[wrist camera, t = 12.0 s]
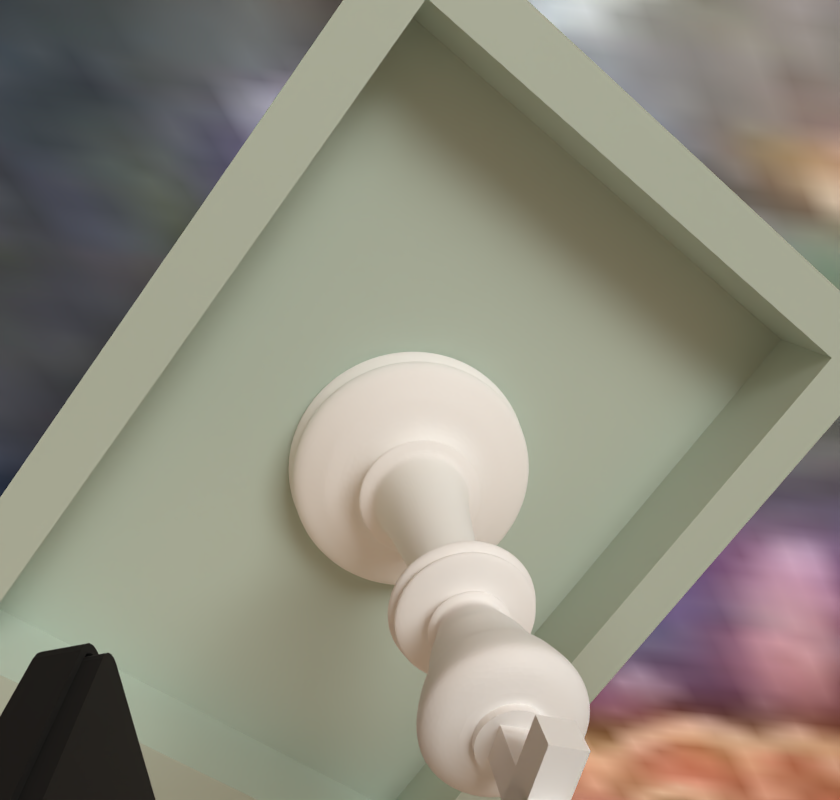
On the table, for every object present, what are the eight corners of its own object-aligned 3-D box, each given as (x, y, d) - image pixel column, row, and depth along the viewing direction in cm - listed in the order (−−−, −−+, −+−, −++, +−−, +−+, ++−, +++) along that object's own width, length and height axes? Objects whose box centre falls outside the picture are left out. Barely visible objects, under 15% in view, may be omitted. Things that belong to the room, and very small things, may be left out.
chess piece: (555, 384, 17) (905, 685, 7) (483, 591, 18) (700, 1089, 8) (323, 323, 15) (372, 582, 6) (262, 548, 17) (222, 1064, 7)
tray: (820, 321, 18) (899, 346, 16) (393, 827, 20) (405, 916, 18) (395, -61, 15) (415, -105, 12) (-61, 599, 17) (-120, 671, 14)
